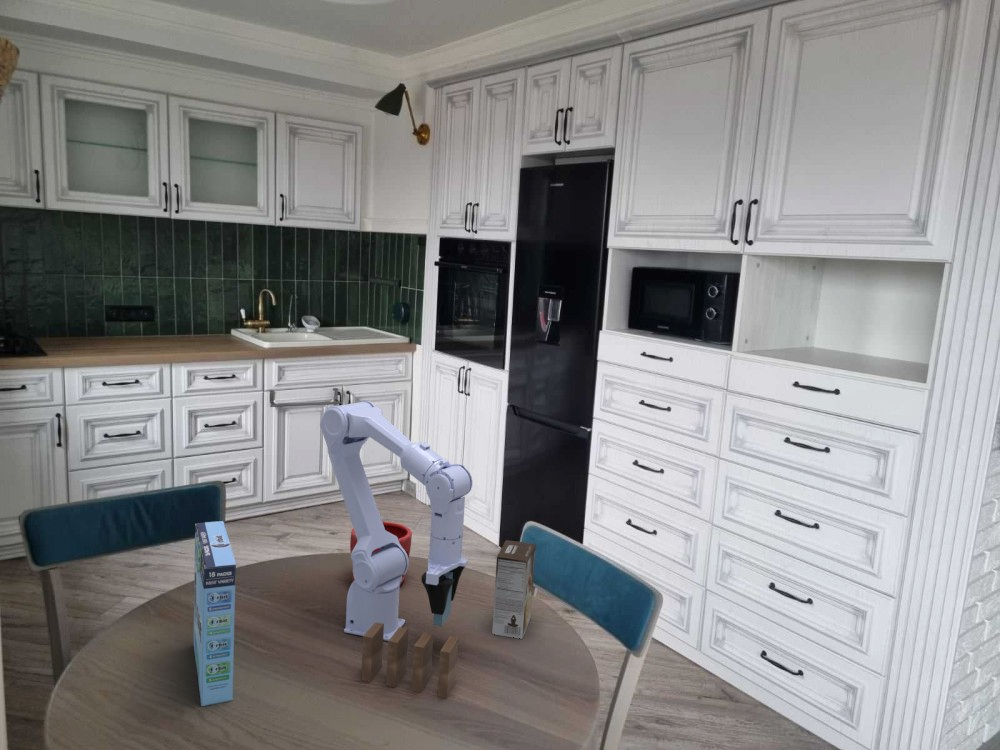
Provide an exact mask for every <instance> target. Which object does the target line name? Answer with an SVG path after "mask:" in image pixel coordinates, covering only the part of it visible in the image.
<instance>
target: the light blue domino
mask: <svg viewBox="0 0 1000 750" xmlns="http://www.w3.org/2000/svg"><path fill="white" fill-rule="evenodd" d="M444 576H446V578H451V579H453V572H447V573H445V574H444ZM451 596H452V586H451V588H450V591H449V594H448V598H447V603H446V608H445V611H444V614H443V615H439V614H433V621H432V622H433V626H438V627H443V625H444V624H445V622H446V621H447V619H448V618H449V616H451V612H452V611H451V610H452V601H451Z"/></svg>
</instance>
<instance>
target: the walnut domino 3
mask: <svg viewBox="0 0 1000 750" xmlns="http://www.w3.org/2000/svg"><path fill="white" fill-rule="evenodd" d="M433 643H434V632H430V631H429V632H428V631H423V633H422V634H421V636H420V638H418V640H417V641H416V642H415V644H414V646H413V664H412V678H411V680H412V681H411V692H415V693H419V694H422V692H423V690H424V689H425V687H426V685H427V684H428V683H429V681H430V680H431V677H432V663H433V661H432V660H433V648H434V647H433V646H434V645H433Z"/></svg>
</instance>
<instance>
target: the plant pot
mask: <svg viewBox="0 0 1000 750" xmlns="http://www.w3.org/2000/svg"><path fill="white" fill-rule="evenodd" d="M382 522H383V525H384V528H385V530H386V531H387V532H389V533H391V534H393V535H395V536H397V538H398V541H399V543H400V545H401V547H402V548H403V549H404V550H405V552H406V553H407V556H408V559H409V557H410V553H411V547H412V534H413V532H412V529H410V528H409V527H407V526H405V525H403V524H400V523H396V522H392V521H391V522H390V521H382ZM350 531H351V532H350V540H349V541H350V545H349V548H350V549H349V550H350V554H351V553H352V551H353V549H354V547H355V545H356V544H357V541H358V540H357V537H356V534H355V531H354V528H353V527H352V529H351V530H350ZM379 550H381V549H379V548H377V549H375V550H374V551H372V553H374V552H376V551H379ZM351 579H352V582H353V581H355V579H354V575H353V571H352V572H351ZM405 579H406V573H405V574H404V575H402V581H401V582H400V585H401V584H402V583H403V582H404V581H405Z"/></svg>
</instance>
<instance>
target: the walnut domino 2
mask: <svg viewBox="0 0 1000 750" xmlns="http://www.w3.org/2000/svg"><path fill="white" fill-rule="evenodd" d="M408 642H409V628H408V627H403V626H402V627H399V628H398V629H397V631H396V632H395V633H394V634H393V636H392V637H391V638H390V639H389V641H387V662H386V665H387V667H386V681H385V682H386V683H385V684H386V685H385V686H387V687H390V688H397V686H398V685H399V683H400V682H401V680H402V679H403V677H404V676H405V674H406V673H407V662H408Z"/></svg>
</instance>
